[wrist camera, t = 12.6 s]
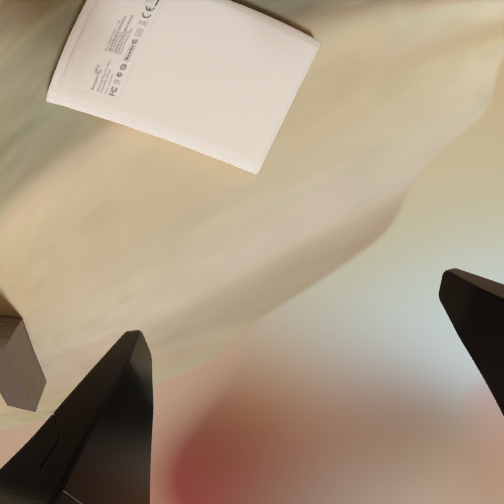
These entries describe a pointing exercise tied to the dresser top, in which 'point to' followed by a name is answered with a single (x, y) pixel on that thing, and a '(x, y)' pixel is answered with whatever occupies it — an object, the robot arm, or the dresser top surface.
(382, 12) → the dresser top surface
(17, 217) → the dresser top surface
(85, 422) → the robot arm
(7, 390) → the dark gray rectangular block
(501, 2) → the dresser top surface
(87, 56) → the external hard drive
